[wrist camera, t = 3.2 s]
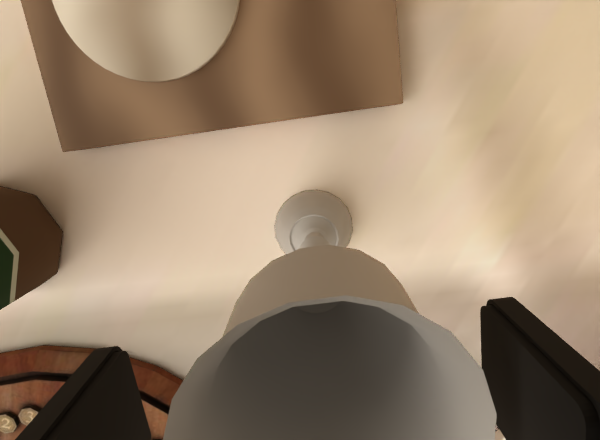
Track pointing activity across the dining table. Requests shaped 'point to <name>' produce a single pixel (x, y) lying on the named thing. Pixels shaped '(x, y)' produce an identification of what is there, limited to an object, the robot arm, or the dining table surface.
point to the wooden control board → (56, 371)
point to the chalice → (330, 351)
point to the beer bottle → (25, 244)
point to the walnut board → (208, 63)
